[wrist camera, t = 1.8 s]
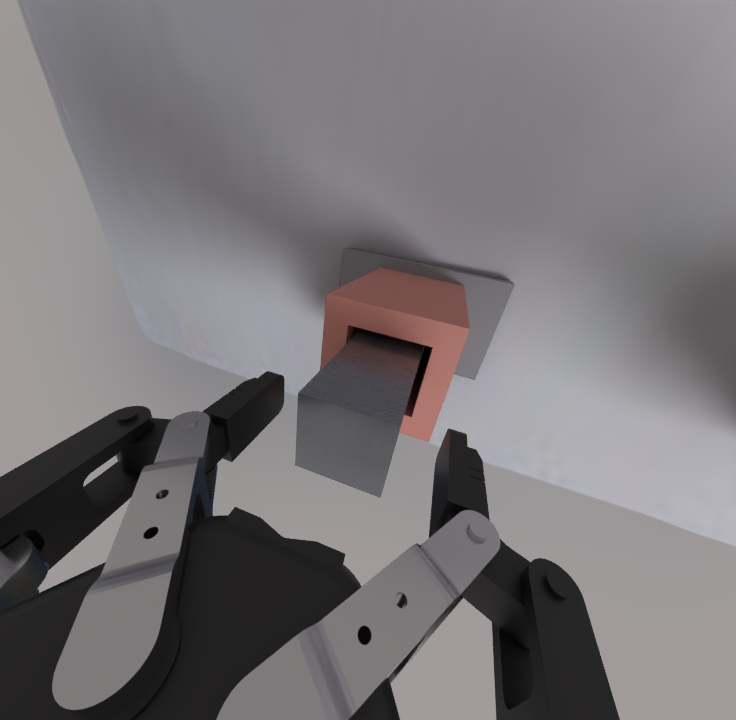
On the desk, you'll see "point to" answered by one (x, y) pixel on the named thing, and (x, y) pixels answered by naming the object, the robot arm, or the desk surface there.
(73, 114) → the desk surface
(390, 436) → the steel column
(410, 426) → the stand sleeve
